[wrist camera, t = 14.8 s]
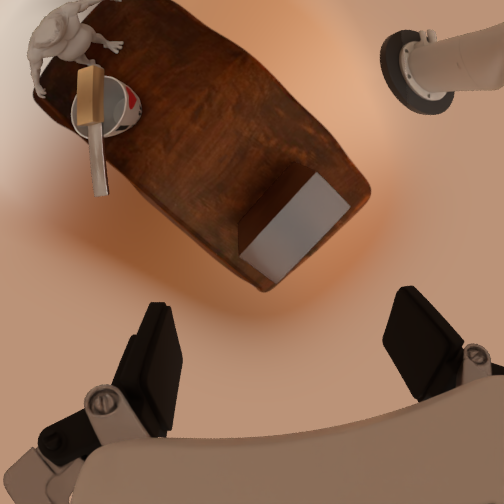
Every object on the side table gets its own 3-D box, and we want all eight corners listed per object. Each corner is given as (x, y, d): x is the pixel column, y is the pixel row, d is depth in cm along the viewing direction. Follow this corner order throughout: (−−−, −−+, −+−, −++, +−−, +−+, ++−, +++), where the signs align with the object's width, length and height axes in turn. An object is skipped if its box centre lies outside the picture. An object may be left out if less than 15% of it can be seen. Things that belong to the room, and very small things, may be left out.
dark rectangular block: (293, 161, 39) (316, 171, 28) (321, 187, 41) (351, 206, 30) (237, 223, 42) (238, 256, 31) (265, 246, 44) (276, 284, 33)
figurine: (82, 110, 32) (8, 107, 16) (61, 91, 30) (-11, 84, 14) (155, 24, 28) (112, -28, 11) (130, 9, 26) (82, -39, 9)
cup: (142, 141, 36) (115, 144, 27) (98, 132, 34) (64, 134, 25) (158, 91, 33) (135, 79, 24) (113, 84, 31) (82, 73, 22)
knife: (89, 73, 22) (77, 69, 20) (104, 69, 23) (93, 64, 20) (95, 196, 29) (84, 202, 26) (110, 194, 29) (99, 200, 26)
